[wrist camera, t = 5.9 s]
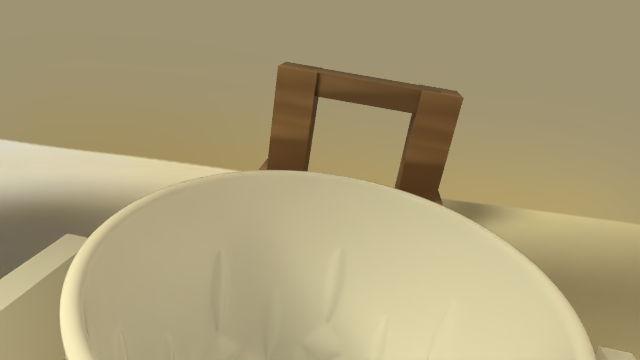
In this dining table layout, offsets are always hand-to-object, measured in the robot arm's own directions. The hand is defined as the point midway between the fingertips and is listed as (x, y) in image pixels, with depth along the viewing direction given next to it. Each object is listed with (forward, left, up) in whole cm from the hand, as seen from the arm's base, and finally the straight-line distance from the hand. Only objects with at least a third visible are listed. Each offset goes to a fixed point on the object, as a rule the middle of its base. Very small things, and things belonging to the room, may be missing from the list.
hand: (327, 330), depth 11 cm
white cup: (+1, -3, -6) cm, 7 cm away
